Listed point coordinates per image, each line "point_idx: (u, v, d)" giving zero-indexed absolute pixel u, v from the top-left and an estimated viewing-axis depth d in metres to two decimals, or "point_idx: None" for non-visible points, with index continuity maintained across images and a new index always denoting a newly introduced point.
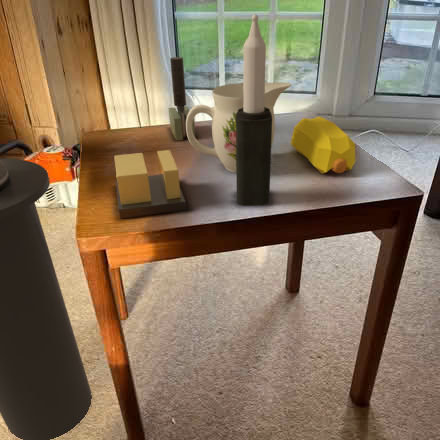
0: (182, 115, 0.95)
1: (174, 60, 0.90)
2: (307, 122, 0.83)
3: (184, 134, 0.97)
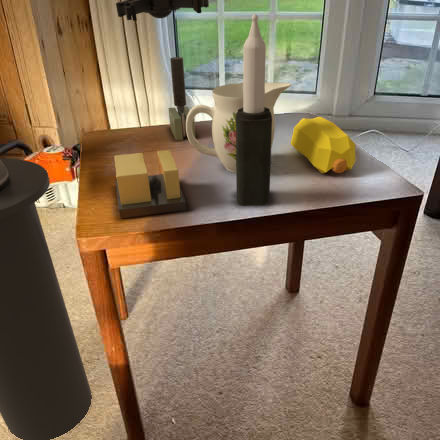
0: (182, 115, 0.95)
1: (174, 60, 0.90)
2: (307, 122, 0.83)
3: (184, 134, 0.97)
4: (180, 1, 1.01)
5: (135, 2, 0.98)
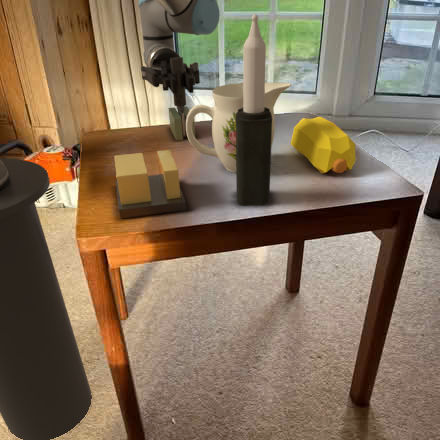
0: (182, 115, 0.95)
1: (174, 60, 0.90)
2: (307, 122, 0.83)
3: (184, 134, 0.97)
4: None
5: (167, 72, 0.96)
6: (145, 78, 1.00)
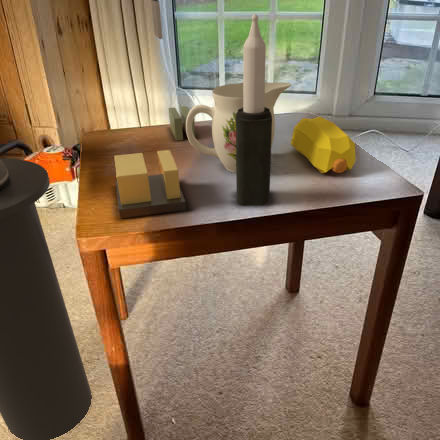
0: (157, 4, 0.68)
1: None
2: (307, 122, 0.83)
3: (160, 34, 0.70)
4: None
5: None
6: None
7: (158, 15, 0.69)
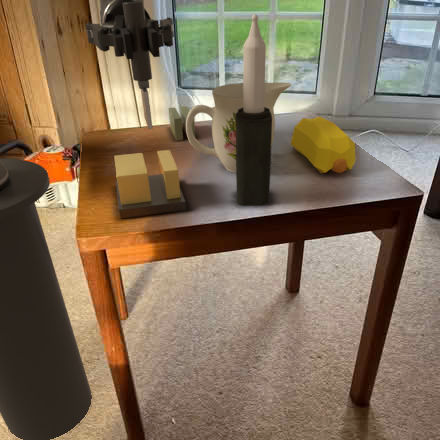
0: (145, 94, 0.61)
1: (128, 5, 0.56)
2: (307, 122, 0.83)
3: (150, 124, 0.63)
4: None
5: None
6: (92, 41, 0.67)
7: (147, 106, 0.62)
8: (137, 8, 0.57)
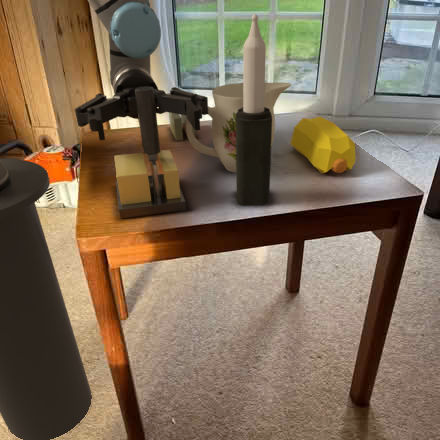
0: (154, 167, 0.67)
1: (140, 92, 0.62)
2: (307, 122, 0.83)
3: (158, 192, 0.69)
4: (168, 104, 0.72)
5: (103, 107, 0.68)
6: None
7: (155, 177, 0.68)
8: (148, 94, 0.63)
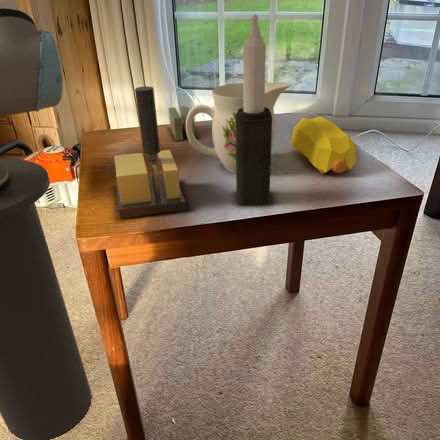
0: (154, 167, 0.67)
1: (140, 92, 0.62)
2: (307, 122, 0.83)
3: (158, 192, 0.69)
4: None
5: None
6: None
7: (155, 177, 0.68)
8: (148, 94, 0.63)
